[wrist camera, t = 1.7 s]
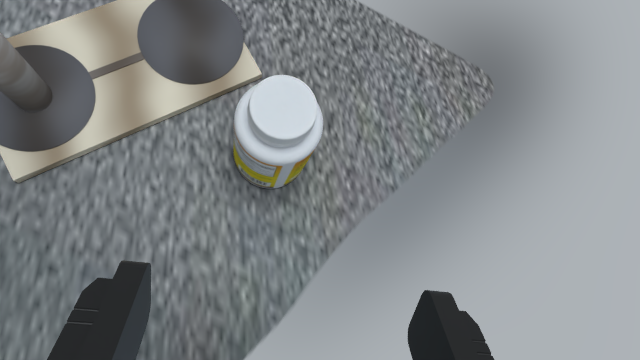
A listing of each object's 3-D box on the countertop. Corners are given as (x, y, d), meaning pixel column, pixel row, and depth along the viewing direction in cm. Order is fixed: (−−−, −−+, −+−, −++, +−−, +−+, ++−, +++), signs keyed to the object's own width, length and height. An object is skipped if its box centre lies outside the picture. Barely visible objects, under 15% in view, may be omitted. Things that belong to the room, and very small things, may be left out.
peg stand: (10, 186, 32) (-83, 142, 22) (-48, 64, 33) (-161, -27, 23) (266, 75, 37) (279, 3, 28) (209, -26, 38) (203, -129, 29)
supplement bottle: (299, 119, 37) (325, 59, 27) (308, 186, 36) (339, 148, 26) (229, 124, 36) (229, 63, 26) (236, 194, 35) (240, 157, 25)
